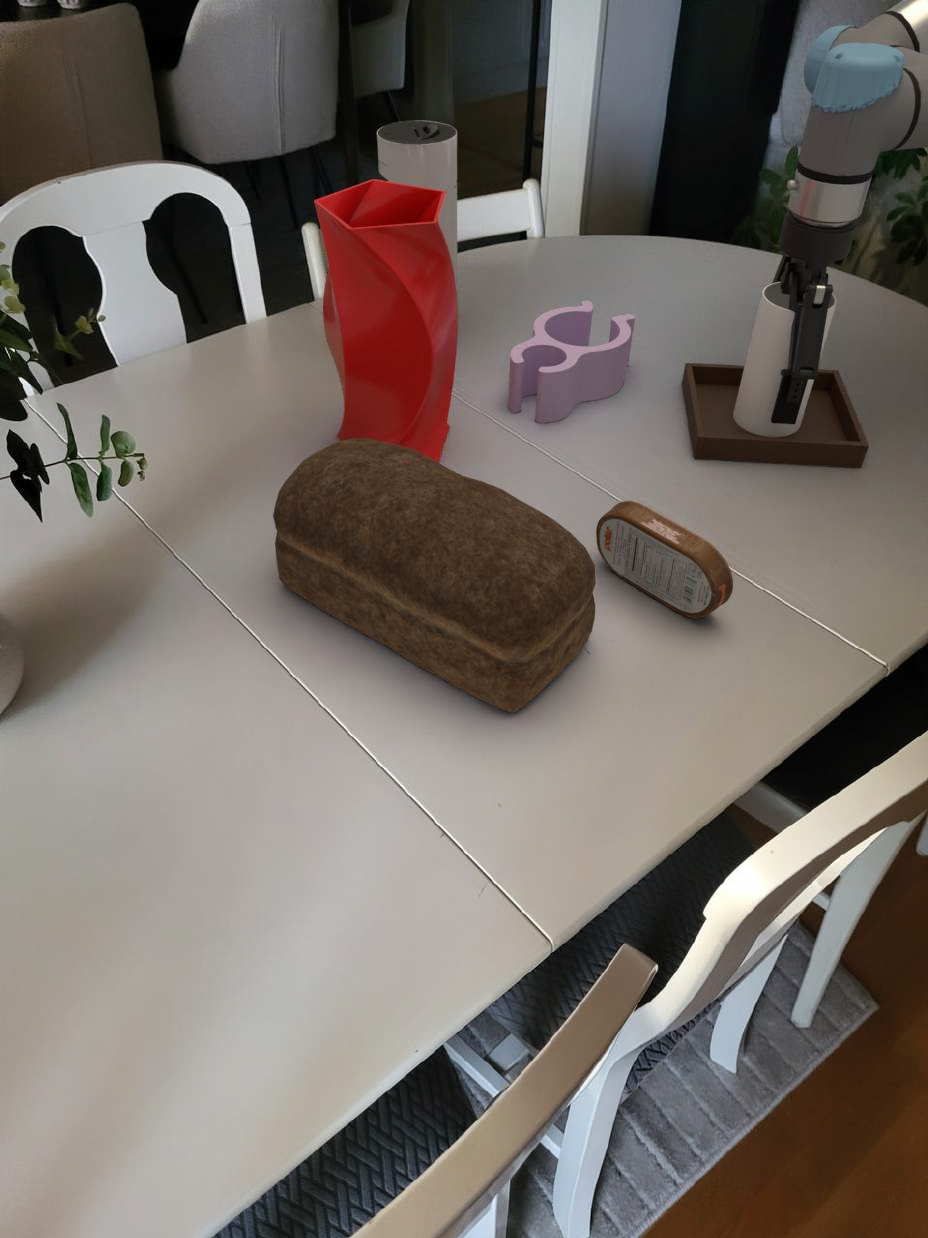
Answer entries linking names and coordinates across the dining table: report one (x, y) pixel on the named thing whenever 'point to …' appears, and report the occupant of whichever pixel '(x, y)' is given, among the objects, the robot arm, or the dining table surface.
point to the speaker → (424, 167)
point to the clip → (568, 362)
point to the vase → (390, 312)
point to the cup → (770, 365)
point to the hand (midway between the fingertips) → (774, 393)
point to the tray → (819, 440)
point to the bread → (436, 567)
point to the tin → (664, 559)
